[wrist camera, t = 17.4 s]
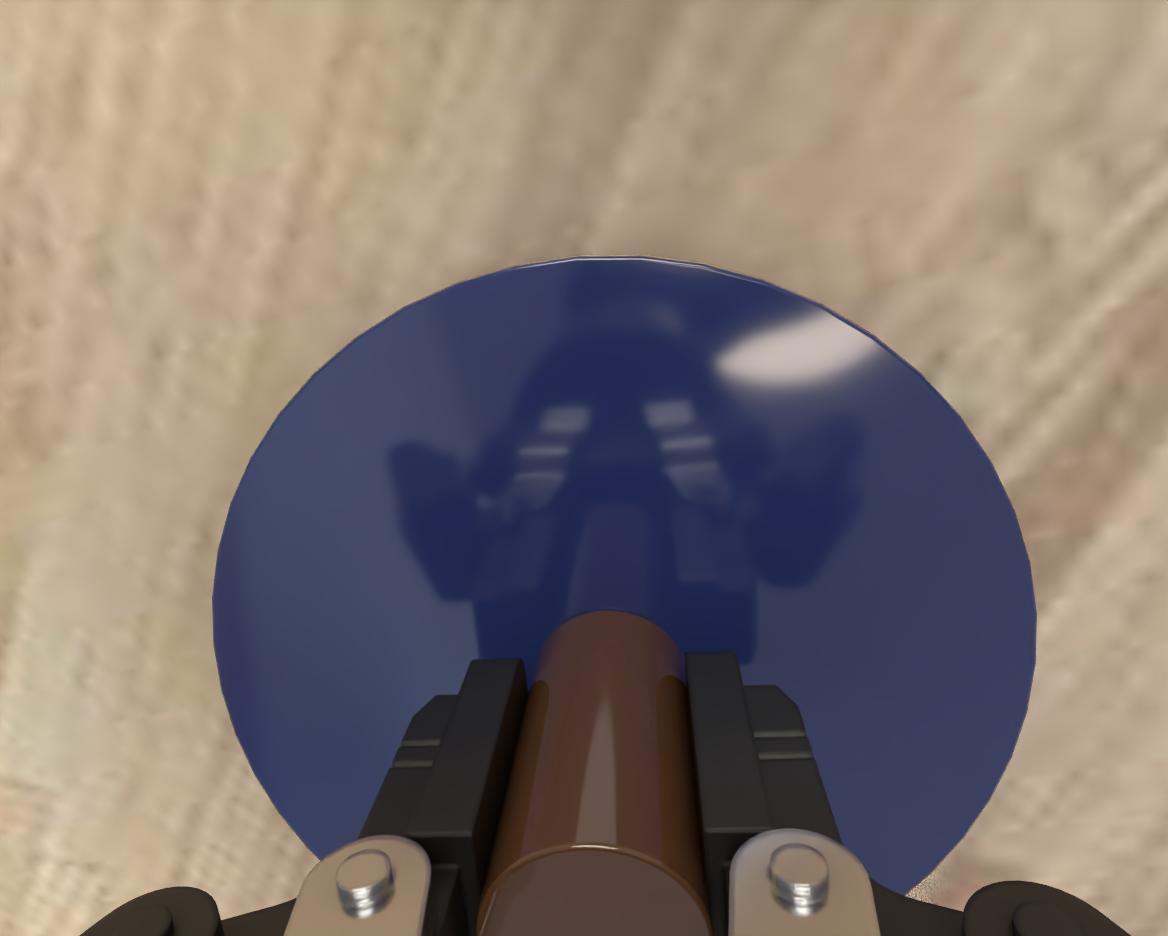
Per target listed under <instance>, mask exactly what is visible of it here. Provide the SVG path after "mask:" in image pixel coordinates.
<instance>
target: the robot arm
mask: <svg viewBox="0 0 1168 936" xmlns="http://www.w3.org/2000/svg"><path fill="white" fill-rule="evenodd" d="M685 666H686V687H687V697H688V707H689V717H690V727H691V738H692V748H693V758H694V768H695V778H696V789H697V799H698V809H699V819H700V829H701V840H702V850H703V860H704V870H705V880H706V891H707V894H708V897H709V900H710V904H711V908H712V916H713V925H714V934H715V936H1131V935H1129V934H1128V933H1127V932H1126V931H1124V930H1123V929H1122V928H1120V927H1119V926H1118V925H1116V924H1115V923H1114V922H1112V921H1111V920H1110V919H1109V918H1107V917H1106V916H1105V915H1103V914H1102V913H1101V912H1099V911H1098V910H1096V909H1095V908H1093V907H1092V906H1091V905H1089V904H1088V903H1086V902H1084V901H1082V900H1080V899H1079V898H1077V897H1075V896H1073V895H1071V894H1069V893H1066V892H1064V891H1062V890H1059V889H1056V888H1053V887H1050V886H1047V885H1043V884H1038V883H1034V882H1026V881H1003V882H997V883H993V884H990V885H987V886H985V887H983V888H981V889H980V890H978V891H976V892H975V893H974V894H973V895H972V896H971V897H970V898H969V900H968V902H967V904H966V906H965V908H964V912H962V911H958V910H954V909H950V908H946V907H942V906H938V905H934V904H930V903H926V902H922V901H918V900H915V899H912V898H909V897H905V896H903V895H901V894H898V893H896V892H894V891H891V890H890V889H888V888H886V887H884V886H882V885H880V884H879V883H877V882H876V881H875V880H873V879H872V878H870V877H869V876H868V874H867V872H866V870H865V868H864V866H863V865H862V863H861V862H860V861H859V859H858V858H857V857H856V856H855V855H854V854H853V853H852V852H851V851H850V850H849V849H847V848H846V847H844V846H843V843H842V841H841V838H840V835H839V832H838V829H837V826H836V822H835V819H834V816H833V813H832V810H831V807H830V804H829V801H828V798H827V794H826V791H825V788H824V785H823V782H822V779H821V776H820V773H819V770H818V766H817V763H816V760H815V758H814V757H813V751H812V748H811V745H810V742H809V738H808V737H807V735H806V729H805V726H804V723H803V720H802V717H801V714H800V710H799V707H798V705H797V704H795V703H794V702H793V701H792V700H791V699H790V698H789V697H788V696H787V695H786V694H785V693H784V692H783V691H782V690H781V689H780V688H779V687H778V686H777V685H751V686H743V681H742V677H741V672H740V668H739V663H738V659H737V654H736V651H711V652H685ZM527 696H528V687H527V678H526V671H525V665H524V662H523V659H522V658H503V659H475V660H472V661H471V662H470V664H469V667H468V670H467V672H466V675H465V678H464V680H463V683H462V685H461V688H460V691H459V693H458V694H454V695H436V696H435V697H434V698H432V699H431V700H430V701H429V702H428V703H427V704H426V705H425V706H424V707H423V708H422V709H421V710H419V711H418V712H417V713H416V714H415V715H414V716H413V717H412V719H411V721H410V724H409V726H408V728H407V730H406V732H405V735H404V737H403V739H402V741H401V747H399V748H398V750H397V752H396V755H395V757H394V759H393V761H392V768H389V770H388V772H387V775H386V777H385V779H384V781H383V783H382V786H381V788H380V790H379V792H378V795H377V797H376V799H375V801H374V803H373V806H372V808H371V810H370V812H369V814H368V817H367V819H366V821H365V823H364V826H363V828H362V830H361V832H360V834H359V837H358V839H357V840H355V841H353V842H350V843H348V844H345V845H344V846H342V847H340V848H338V849H336V850H335V851H333V852H332V853H330V854H329V855H327V856H326V857H325V858H323V859H322V860H321V861H320V862H319V863H318V864H317V865H316V866H315V867H314V868H313V869H312V870H311V871H310V873H309V874H308V876H307V877H306V879H305V880H304V882H303V884H302V886H301V889H300V891H299V894H298V897H297V898H295V899H293V900H291V901H288V902H285V903H282V904H279V905H276V906H272V907H269V908H265V909H261V910H258V911H254V912H250V913H247V914H243V915H240V916H236V917H232V918H229V919H225V920H221V919H220V915H219V911H218V908H217V905H216V902H215V901H214V899H213V898H212V896H210V895H209V894H208V893H206V892H205V891H203V890H200V889H198V888H192V887H171V888H165V889H160V890H156V891H153V892H150V893H147V894H144V895H142V896H139V897H137V898H135V899H133V900H131V901H129V902H127V903H125V904H123V905H122V906H120V907H118V908H117V909H115V910H114V911H112V912H111V913H109V914H108V915H106V916H105V917H104V918H102V919H101V920H100V921H98V922H97V923H96V924H94V925H93V926H92V927H90V928H89V929H88V930H86V931H85V932H84V933H82V934H81V935H80V936H476V934H475V924H476V915H477V911H478V906H479V902H480V898H481V893H482V889H483V885H484V881H485V876H486V872H487V868H488V863H489V859H490V855H491V851H492V846H493V842H494V838H495V833H496V829H497V825H498V821H499V816H500V812H501V808H502V803H503V799H504V795H505V790H506V786H507V782H508V778H509V773H510V769H511V765H512V760H513V756H514V752H515V748H516V743H517V739H518V735H519V730H520V726H521V722H522V718H523V713H524V709H525V705H526V700H527Z"/></svg>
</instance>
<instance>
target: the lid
mask: <svg viewBox="0 0 1168 936" xmlns="http://www.w3.org/2000/svg"><path fill="white" fill-rule="evenodd" d="M212 608H213V643H214V650H215V656H216V662H217V668H218V674H219V679H220V685H221V691H222V694H223V697H224V700H225V703H226V706H227V709H228V713H229V716H230V719H231V722H232V725H233V728H234V731H235V734H236V736H237V739H238V741H239V743H240V745H241V747H242V749H243V751H244V753H245V756H246V758H247V760H248V762H249V764H250V766H251V768H252V770H253V773H254V775H255V776H256V778H257V779H258V781H259V783H260V784H261V786H262V787H263V789H264V790H265V792H266V794H267V795H268V797H269V798H270V800H271V802H272V803H273V805H274V806H275V808H276V809H277V811H278V813H279V814H280V815H281V816H282V818H283V819H284V820H285V821H286V822H287V824H288V825H289V826H290V827H291V829H292V830H293V831H294V832H295V833H296V835H297V836H298V837H299V838H300V840H301V841H302V842H303V843H304V844H305V846H306V847H307V848H308V849H309V850H310V851H311V852H312V853H313V854H314V855H315V856H316V857H317V858H318V859H319V860H320V861H321V860H322V859H323V858H325V857H326V856H327V855H329V854H330V853H332V852H333V851H335V850H336V849H338V848H340V847H342V846H344V845H345V844H348V843H350V842H353V841H355V840H357V839H358V837H359V834H360V832H361V830H362V828H363V826H364V823H365V821H366V819H367V817H368V814H369V812H370V810H371V808H372V806H373V803H374V801H375V799H376V797H377V795H378V792H379V790H380V788H381V786H382V783H383V781H384V779H385V777H386V775H387V772H388V770H389V768H392V761H393V759H394V757H395V755H396V752H397V750H398V748H399V747H401V741H402V739H403V737H404V735H405V732H406V730H407V728H408V726H409V724H410V721H411V719H412V717H413V716H414V715H415V714H416V713H417V712H418V711H419V710H421V709H422V708H423V707H424V706H425V705H426V704H427V703H428V702H429V701H430V700H431V699H432V698H434V697H435V696H436V695H454V694H458V693H459V691H460V688H461V685H462V683H463V680H464V678H465V675H466V672H467V670H468V667H469V664H470V662H471V661H472V660H475V659H503V658H522V659H523V662H524V665H525V671H526V678H527V687H528V696H527V700H526V705H525V709H524V713H523V718H522V722H521V726H520V730H519V735H518V739H517V743H516V748H515V752H514V756H513V760H512V765H511V769H510V773H509V778H508V782H507V786H506V790H505V795H504V799H503V803H502V808H501V812H500V816H499V821H498V825H497V829H496V833H495V838H494V842H493V846H492V851H491V855H490V859H489V863H488V868H487V872H486V876H485V881H484V885H483V889H482V893H481V898H480V902H479V906H478V911H477V915H476V924H475V934H476V936H715V934H714V925H713V916H712V908H711V904H710V900H709V897H708V894H707V891H706V880H705V870H704V860H703V850H702V840H701V829H700V819H699V809H698V799H697V789H696V778H695V768H694V758H693V748H692V738H691V727H690V717H689V707H688V697H687V687H686V666H685V652H711V651H736V654H737V659H738V663H739V668H740V672H741V677H742V681H743V686H751V685H777V686H778V687H779V688H780V689H781V690H782V691H783V692H784V693H785V694H786V695H787V696H788V697H789V698H790V699H791V700H792V701H793V702H794V703H795V704H797V705H798V707H799V710H800V714H801V717H802V720H803V723H804V726H805V729H806V735H807V737H808V738H809V742H810V745H811V748H812V751H813V757H814V758H815V760H816V763H817V766H818V770H819V773H820V776H821V779H822V782H823V785H824V788H825V791H826V794H827V798H828V801H829V804H830V807H831V810H832V813H833V816H834V819H835V822H836V826H837V829H838V832H839V835H840V838H841V841H842V843H843V846H844V847H846V848H847V849H849V850H850V851H851V852H852V853H853V854H854V855H855V856H856V857H857V858H858V859H859V861H860V862H861V863H862V865H863V866H864V868H865V870H866V872H867V874H868V876H869V877H870V878H872V879H873V880H875V881H876V882H877V883H879V884H880V885H882V886H884V887H886V888H888V889H890V890H891V891H894V892H896V893H898V894H901V895H903V896H905V895H906V894H907V893H908V892H910V891H911V890H912V889H913V888H914V887H915V886H917V885H918V884H919V883H920V882H921V881H922V880H924V879H925V878H926V877H927V876H928V875H930V874H931V873H932V872H933V871H934V870H935V868H936V867H937V866H938V865H939V864H940V863H941V862H942V861H943V860H944V859H945V858H946V856H947V855H948V854H949V853H950V852H951V851H952V850H953V849H954V848H955V847H956V846H957V844H958V843H959V842H960V841H961V840H962V839H963V838H964V836H965V835H966V833H967V832H968V831H969V829H970V828H971V826H972V825H973V823H974V822H975V821H976V819H977V818H978V816H979V815H980V813H981V812H982V810H983V809H984V808H985V806H986V805H987V803H988V802H989V800H990V799H991V797H992V795H993V793H994V791H995V789H996V787H997V785H998V783H999V781H1000V779H1001V777H1002V775H1003V773H1004V771H1005V769H1006V767H1007V765H1008V763H1009V761H1010V759H1011V757H1012V755H1013V752H1014V749H1015V746H1016V743H1017V740H1018V737H1019V734H1020V731H1021V728H1022V725H1023V722H1024V719H1025V716H1026V713H1027V709H1028V703H1029V698H1030V692H1031V686H1032V681H1033V675H1034V670H1035V664H1036V623H1037V611H1036V604H1035V596H1034V589H1033V581H1032V574H1031V566H1030V560H1029V557H1028V554H1027V550H1026V547H1025V543H1024V540H1023V537H1022V533H1021V530H1020V527H1019V523H1018V520H1017V517H1016V513H1015V510H1014V508H1013V506H1012V504H1011V502H1010V500H1009V498H1008V496H1007V493H1006V491H1005V489H1004V487H1003V485H1002V483H1001V481H1000V479H999V477H998V474H997V472H996V470H995V468H994V466H993V464H992V462H991V460H990V459H989V457H988V456H987V454H986V453H985V452H984V450H983V449H982V447H981V446H980V444H979V443H978V441H977V440H976V438H975V437H974V435H973V434H972V432H971V431H970V429H969V428H968V426H967V425H966V424H965V422H964V421H963V419H962V418H961V416H960V415H959V414H958V413H957V412H956V411H955V409H954V408H953V407H952V406H951V405H950V404H949V403H948V402H947V401H946V400H945V399H944V398H943V396H942V395H941V394H940V393H939V392H938V391H937V390H936V389H935V388H934V387H933V386H932V385H931V383H930V382H929V381H928V380H927V379H926V378H925V377H924V376H923V375H922V374H921V373H920V372H919V371H918V370H917V369H915V368H914V367H913V366H912V365H910V364H909V363H908V362H907V361H905V360H904V359H903V358H902V357H900V356H899V355H898V354H897V353H896V352H894V351H893V350H892V349H891V348H889V347H888V346H887V345H886V344H884V343H883V342H882V341H881V340H879V339H878V338H877V337H876V336H874V335H873V334H871V333H870V332H868V331H866V330H864V329H863V328H861V327H859V326H858V325H856V324H854V323H853V322H851V321H849V320H848V319H846V318H844V317H843V316H841V315H839V314H838V313H836V312H834V311H833V310H831V309H829V308H828V307H826V306H824V305H822V304H821V303H819V302H817V301H814V300H812V299H810V298H807V297H805V296H802V295H800V294H798V293H795V292H793V291H790V290H788V289H786V288H783V287H781V286H779V285H776V284H774V283H771V282H769V281H767V280H764V279H762V278H759V277H755V276H752V275H748V274H744V273H740V272H737V271H733V270H729V269H725V268H722V267H718V266H714V265H710V264H707V263H703V262H697V261H689V260H681V259H673V258H665V257H657V256H649V255H641V254H633V255H577V256H570V257H563V258H556V259H550V260H543V261H536V262H529V263H523V264H518V265H514V266H511V267H508V268H504V269H501V270H497V271H494V272H490V273H487V274H484V275H480V276H477V277H473V278H470V279H466V280H463V281H460V282H458V283H456V284H453V285H451V286H449V287H447V288H444V289H442V290H440V291H438V292H436V293H433V294H431V295H429V296H427V297H424V298H422V299H420V300H418V301H416V302H413V303H411V304H409V305H407V306H404V307H403V308H401V309H400V310H398V311H396V312H395V313H393V314H392V315H390V316H388V317H387V318H385V319H384V320H382V321H381V322H379V323H377V324H376V325H374V326H373V327H371V328H369V329H368V330H366V331H365V332H363V333H362V334H360V335H358V336H357V337H355V338H354V339H353V340H352V341H351V342H350V343H348V344H347V345H346V346H345V347H344V348H343V349H341V350H340V351H339V352H338V353H337V354H336V355H334V356H333V357H332V358H331V359H330V360H329V361H327V362H326V363H325V364H324V365H323V366H322V367H320V368H319V369H318V370H317V371H316V372H315V373H313V375H312V376H311V377H310V378H309V379H308V380H307V381H306V383H305V384H304V385H303V386H302V387H301V388H300V390H299V391H298V392H297V393H296V394H295V395H294V396H293V398H292V399H291V400H290V401H289V402H288V403H287V404H286V406H285V407H284V408H283V409H282V410H281V411H280V413H279V414H278V415H277V417H276V418H275V420H274V422H273V423H272V425H271V426H270V428H269V429H268V431H267V433H266V434H265V436H264V437H263V439H262V441H261V442H260V444H259V445H258V447H257V448H256V450H255V452H254V453H253V455H252V456H251V458H250V460H249V463H248V465H247V467H246V469H245V472H244V474H243V476H242V479H241V481H240V483H239V485H238V488H237V490H236V492H235V494H234V497H233V499H232V501H231V504H230V507H229V511H228V515H227V519H226V522H225V526H224V530H223V533H222V537H221V541H220V544H219V548H218V553H217V562H216V570H215V579H214V587H213V596H212Z"/></svg>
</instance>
